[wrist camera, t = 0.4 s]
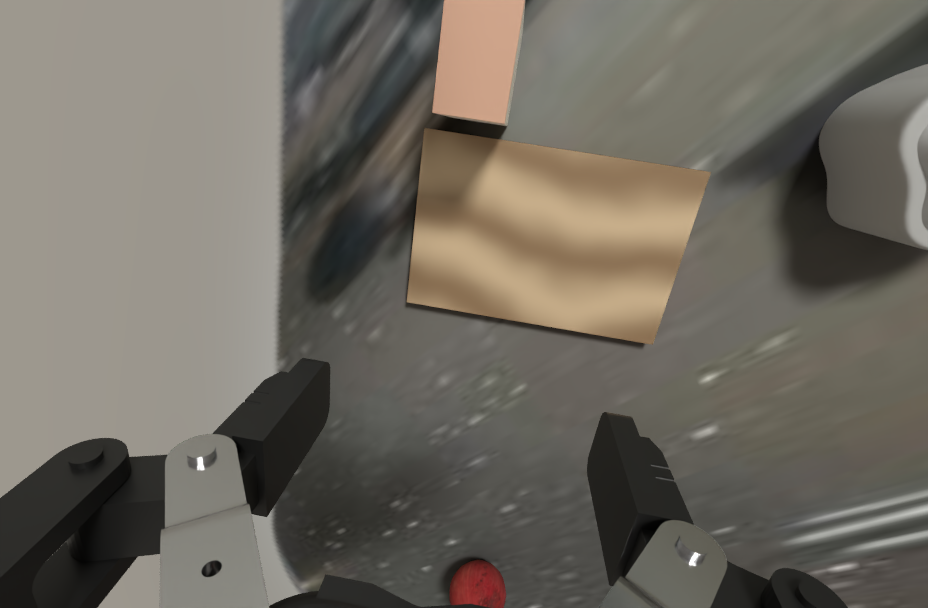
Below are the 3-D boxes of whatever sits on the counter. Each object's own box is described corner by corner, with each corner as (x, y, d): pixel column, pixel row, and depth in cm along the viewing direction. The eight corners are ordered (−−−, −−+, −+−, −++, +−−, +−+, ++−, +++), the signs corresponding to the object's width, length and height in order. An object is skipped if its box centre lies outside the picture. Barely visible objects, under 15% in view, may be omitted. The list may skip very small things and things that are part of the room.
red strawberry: (484, 534, 48) (478, 607, 41) (516, 566, 50) (517, 643, 42) (444, 555, 50) (431, 629, 43) (476, 586, 51) (470, 663, 44)
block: (466, 27, 31) (446, -18, 22) (522, 35, 31) (525, -6, 22) (454, 118, 34) (432, 112, 24) (507, 126, 33) (504, 123, 24)
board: (427, 128, 34) (424, 128, 33) (704, 171, 33) (710, 172, 32) (409, 297, 39) (406, 302, 38) (648, 338, 38) (652, 344, 37)
